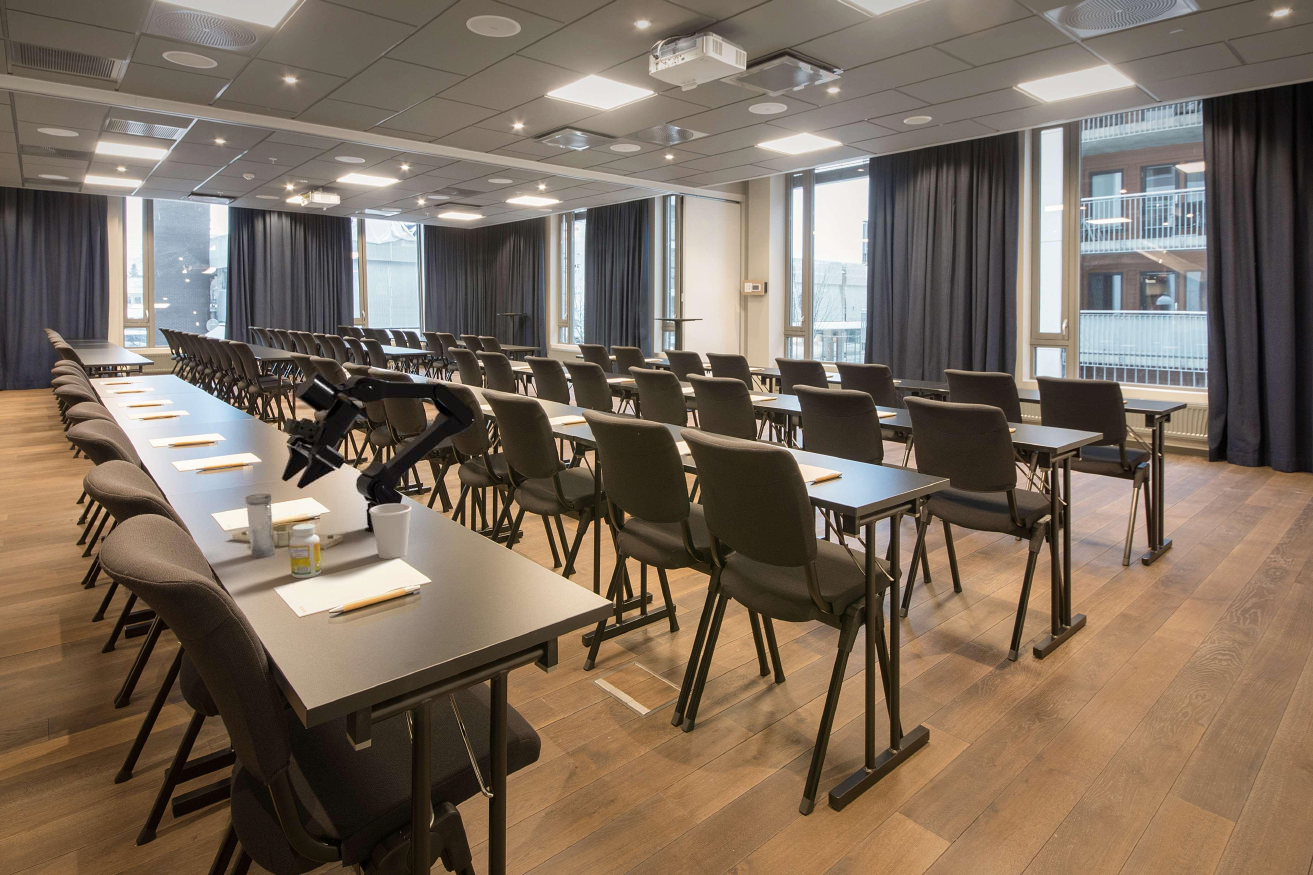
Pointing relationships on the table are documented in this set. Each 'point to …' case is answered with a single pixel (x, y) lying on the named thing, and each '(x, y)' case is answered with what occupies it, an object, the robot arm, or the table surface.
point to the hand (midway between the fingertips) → (291, 483)
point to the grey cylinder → (260, 525)
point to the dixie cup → (391, 529)
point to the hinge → (290, 536)
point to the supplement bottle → (305, 551)
